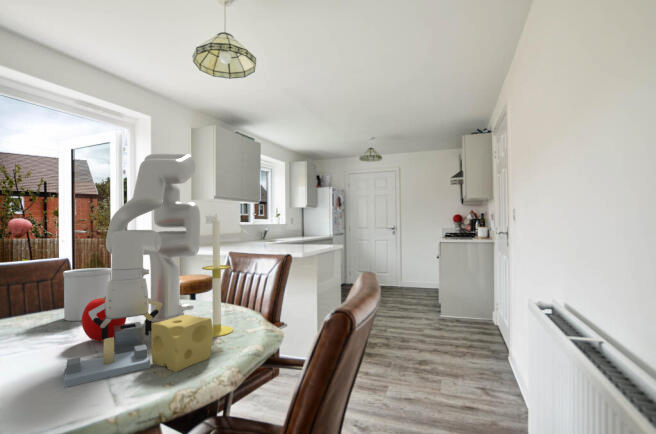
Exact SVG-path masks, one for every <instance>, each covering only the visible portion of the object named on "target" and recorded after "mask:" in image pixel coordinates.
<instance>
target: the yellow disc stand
mask: <svg viewBox="0 0 656 434" xmlns="http://www.w3.org/2000/svg"><path fill="white" fill-rule="evenodd" d="M220 222H221V221H220V220H219V218H218V215H217V214H214V218H213V220H212V265H207V266H202V267H201V269H202V270H204V271H205V270H206V271H212V273H211V274H212V275H211V276H212V280H211V281H212V283H211V284H212V330H213V336H212V338H218V337H223V336H227V335H230V334H231V333H233V332H234V328H233V327H231V326H229V325H222V276H221V275H222V274H221V273H222V270H227V269H230V268H231V265H226V264H225V265H224V264H221V233H220V232H221V231H220V229H221V227H220V225H221V224H220Z"/></svg>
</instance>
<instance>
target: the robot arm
mask: <svg viewBox="0 0 656 434" xmlns="http://www.w3.org/2000/svg"><path fill="white" fill-rule="evenodd" d="M195 172H196V160H195V158H194V157H193V156H192V155H191V154H188V153H152V154H148V155H146V156H145V157H144V160H143V161H142V162H141V163H140V165H139V168H138V171H137V176H136V181H135V185H134V191H133V195H132V198H131V199H129V200H128V201H127V202H125V203H124V204H123V205H122V206H121V207H120V208H118V210H117V211H116V212H115V213H114V215H112V218H111V220H110V221H109V224H108V227H107V228H108V229H107V233H106V239H105V247H106V250H107V251H108V253H109V254H111V274H110V281H108V284H107V289H106V299H105V303H104V304H102V305H100V306H98V307H97V308H95V309H93V310H91V311H89V316H90V317H91V319H92V320H93V322H94V323H96V324H97V325H99V326H100V327H101V340H103V339H107V338H108V326H107V324H108V323H109V322H110V321H111V320H112V319H120V318H126V319H127V318H132V317H139V316H144V317H145V320H144V335H145V336H147V337H148V336H150V333H152V324H153V323H156V322H160V321H165V320H168V319H172V318H175V317H179V316H182V315H185V311H191V310H194V303H191V304H187V303H186V304H181V303H180V301H181V300H180V294H181V292H180V288H181V287H180V285H181V284H180V283H181V282H180V267H179V265H178V263H177V262H176V261H175V260H174V258H183V257H185V258H186V257H194V256H196V255H197V254H198V253H199V251H200V247H201V246H200V241H201V212H200V208H199V205H198V204H196V203H195V202H189V201H188V202H187V201H186V202H184V201H183V202H181V190H180V187H179V185H180V184H181V185H182V184H185V183H186V182H187V181H189V179H191V178H192V177H193V176H194V174H195ZM152 211H153V220H154V221H153V222H154V224H155V225H156V227H159V228H164V229H166V228H167V229H168V228H169V229H170V228H171V229H173V228H175V229H176V228H177V229H179V228H185V230H163V231H162V230H161V231H156V230H153V229H126V227H127V226H128V225H129V223H131V222H132V221H133V220H134V219H137V218H138V217H140V216H142V215H145V214H147V213H150V212H152ZM144 256H149V262H150V263H149V265H150V269H147V268H146V269H145V268H144ZM149 274H150V298H149V290H148V283H147V278H145V276H147V275H149ZM149 304H150V305H149ZM149 306H150V308H149ZM104 309H105V315H106V317H105V318H104V319H103V320H101V319H100V318H98V317H97V315H96V314H97V313H98V312H100V311H102V310H104ZM149 309H150V313H149Z"/></svg>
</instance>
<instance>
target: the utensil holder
mask: <svg viewBox="0 0 656 434" xmlns="http://www.w3.org/2000/svg"><path fill="white" fill-rule="evenodd" d="M111 274H112V267H111V268H110V267H94V268H90V267H89V268H79V269H78V268H77V269H70V270H65V271H63V272H62V275H63V284H64V285H63V291H64V292H63V294H64V295H63V296H64V297H63V299H64V301H63V311H64V320H65V321H69V322H82V315H83V312H84V309H85V307H86V306H87V304H88V303H89V302H91V301H92V300H94V299H99V298H104V297H105V296H106V289H107V284H108V281H111Z"/></svg>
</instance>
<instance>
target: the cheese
mask: <svg viewBox="0 0 656 434" xmlns="http://www.w3.org/2000/svg"><path fill="white" fill-rule="evenodd" d="M212 327H213V319H212V318H211V317H200V316H194V315H190V314H184V315H182V316H179V317H175V318H172V319H168V320H165V321H160V322H152V331H151V362H152V364H154V365H157V366H161V367H167V369H168V370H171V371H172V372H174V373H177V372H180V371H182V370H184V369H186V368H188V367H191V366H193V365H195V364H198V363H200V362H203V361H206V360H209V359H210V358H211V353H212V352H211V351H212V345H213V337H212V336H213V330H212Z"/></svg>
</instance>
